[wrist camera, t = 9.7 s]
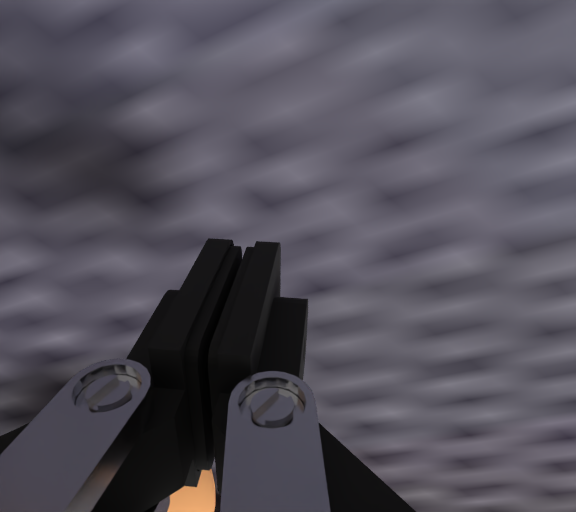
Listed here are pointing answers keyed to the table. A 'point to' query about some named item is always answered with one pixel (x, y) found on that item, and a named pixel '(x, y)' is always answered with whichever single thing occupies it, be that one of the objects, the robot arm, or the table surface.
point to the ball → (195, 496)
